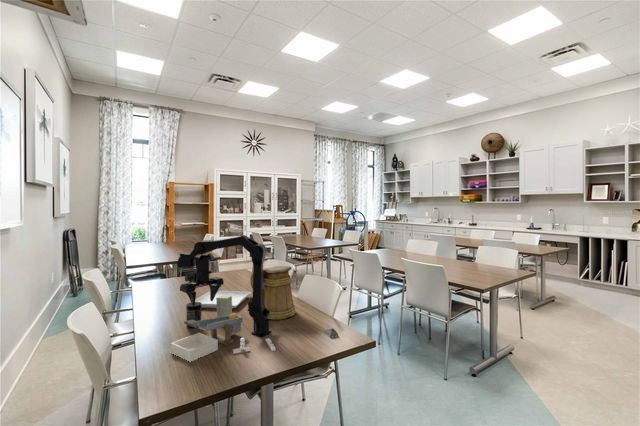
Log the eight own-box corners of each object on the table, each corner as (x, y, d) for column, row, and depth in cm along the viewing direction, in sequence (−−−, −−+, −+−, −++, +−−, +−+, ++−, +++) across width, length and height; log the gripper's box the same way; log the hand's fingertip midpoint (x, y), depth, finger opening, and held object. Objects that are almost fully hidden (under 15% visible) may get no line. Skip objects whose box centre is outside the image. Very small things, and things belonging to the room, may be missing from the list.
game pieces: (234, 359, 118) (234, 343, 118) (230, 344, 130) (230, 331, 130) (342, 340, 135) (342, 327, 135) (329, 329, 148) (329, 317, 147)
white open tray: (217, 349, 125) (217, 339, 124) (189, 362, 114) (189, 351, 114) (198, 342, 131) (198, 332, 131) (170, 353, 121) (170, 343, 121)
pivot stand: (216, 335, 138) (216, 318, 138) (233, 341, 132) (233, 324, 132) (208, 338, 135) (208, 321, 134) (225, 345, 129) (225, 327, 128)
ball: (238, 322, 139) (239, 313, 139) (232, 322, 136) (233, 314, 136) (232, 320, 141) (234, 312, 141) (226, 320, 138) (228, 312, 138)
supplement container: (201, 327, 147) (201, 305, 146) (185, 329, 144) (185, 307, 144) (201, 322, 153) (201, 301, 153) (186, 324, 150) (186, 302, 150)
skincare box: (232, 320, 156) (232, 296, 156) (227, 323, 152) (227, 298, 151) (221, 319, 158) (221, 294, 157) (216, 322, 153) (216, 297, 153)
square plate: (252, 297, 197) (252, 291, 196) (236, 312, 169) (236, 304, 169) (210, 295, 199) (210, 289, 199) (188, 310, 172) (188, 302, 172)
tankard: (299, 317, 160) (300, 269, 160) (252, 323, 152) (253, 272, 152) (290, 307, 177) (291, 262, 177) (248, 311, 169) (248, 265, 169)
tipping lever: (218, 323, 147) (219, 310, 148) (241, 330, 138) (242, 317, 139) (183, 330, 132) (184, 316, 133) (206, 339, 123) (208, 324, 124)
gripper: (210, 263, 153) (210, 295, 154) (172, 269, 138) (173, 305, 138) (224, 266, 147) (224, 299, 147) (187, 273, 132) (187, 310, 132)
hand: (202, 303), depth 141 cm, fingers open, 9 cm apart
